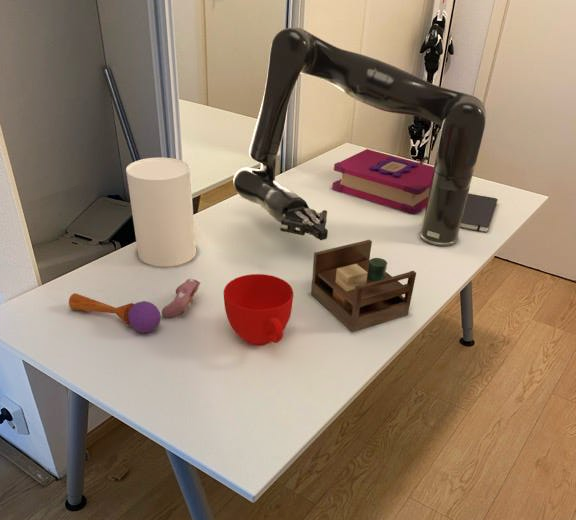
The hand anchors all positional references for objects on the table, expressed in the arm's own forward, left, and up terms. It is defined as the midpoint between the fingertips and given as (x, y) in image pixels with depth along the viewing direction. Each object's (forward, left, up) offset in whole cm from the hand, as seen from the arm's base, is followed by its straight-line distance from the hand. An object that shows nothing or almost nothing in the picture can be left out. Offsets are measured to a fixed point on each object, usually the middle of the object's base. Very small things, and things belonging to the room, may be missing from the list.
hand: (324, 235), depth 129 cm
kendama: (+40, -25, -9) cm, 48 cm away
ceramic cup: (+30, +3, -9) cm, 32 cm away
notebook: (-53, +19, -9) cm, 57 cm away
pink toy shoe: (+29, -17, -9) cm, 35 cm away
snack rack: (+8, +13, -9) cm, 18 cm away
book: (-54, -6, -9) cm, 56 cm away
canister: (+12, -35, -9) cm, 38 cm away
